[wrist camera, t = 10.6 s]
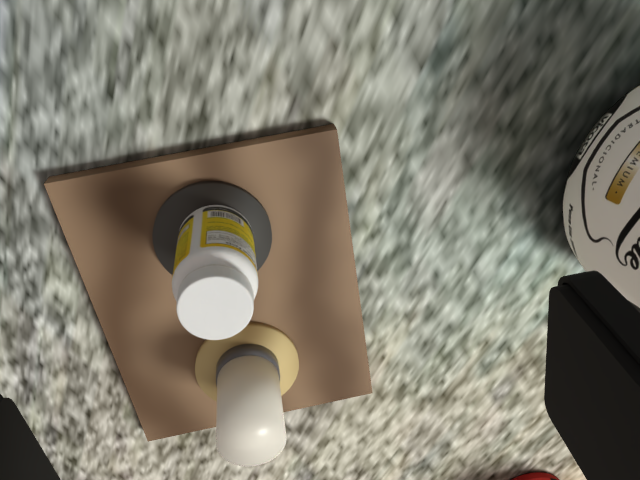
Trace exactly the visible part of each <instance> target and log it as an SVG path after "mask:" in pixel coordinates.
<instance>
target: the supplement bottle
mask: <svg viewBox="0 0 640 480" xmlns="http://www.w3.org/2000/svg"><path fill="white" fill-rule="evenodd" d="M257 290H258V272H257V264H256V254H255V246H254V238H253V232H252V229H251V226H250V224H249V222H248V221H247V220H246V218H245V217H244V216H243V215H242V214H241V213H239V212H238V211H236V210H235V209H232V208H230V207H227V206H223V205H209V206H205V207H202V208H199V209H197V210H196V211H194V212H192V213H191V214H190V215H189V216H188V217H187V218H186V219H185V220H184V221H183V223H182V225H181V227H180V230H179V234H178V240H177V247H176V255H175V262H174V269H173V276H172V291H173V295H174V298H175V300H176V302H177V304H176V311H177V316H178V319H179V321H180V323H181V324H182V326H183V327H184V328H185V329H186V330H187V331H188V332H190V333H191V334H193V335H195V336H197V337H199V338H203V339H208V340H221V339H226V338H229V337H232V336H234V335H236V334H238V333H239V332H241V331H242V330H243V329H244V328H245V327H246V326H247V325H248V323H249V322H250V320H251V317H252V315H253V310H254V299H255V296H256V294H257Z"/></svg>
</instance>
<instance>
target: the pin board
mask: <svg viewBox="0 0 640 480" xmlns="http://www.w3.org/2000/svg"><path fill="white" fill-rule="evenodd" d="M44 186H45V188H46V191H47V193H48V196H49V198H50V200H51V203H52V205H53V208H54V210H55V213H56V215H57V218H58V220H59V223H60V225H61V228H62V230H63V233H64V235H65V237H66V240H67V242H68V245H69V247H70V250H71V252H72V255H73V257H74V260H75V262H76V265H77V267H78V270H79V272H80V275H81V277H82V279H83V282H84V284H85V287H86V289H87V292H88V294H89V297H90V299H91V302H92V304H93V307H94V309H95V312H96V314H97V317H98V319H99V321H100V324H101V326H102V329H103V331H104V334H105V336H106V339H107V341H108V344H109V346H110V349H111V351H112V354H113V356H114V358H115V361H116V363H117V366H118V368H119V371H120V373H121V376H122V378H123V381H124V383H125V386H126V388H127V391H128V393H129V396H130V398H131V400H132V403H133V405H134V408H135V410H136V413H137V415H138V418H139V420H140V423H141V425H142V428H143V430H144V433H145V435H146V438H147V440H148V441H152V440H157V439H161V438H166V437H171V436H175V435H180V434H185V433H189V432H194V431H198V430H203V429H208V428H212V427H216V421H217V386H216V365H217V362H218V360H219V358H220V357H221V356H222V355H223V353H225V352H226V351H227V350H229V349H230V348H232V347H235V346H237V345H241V344H258V345H261V346H264V347H266V348H268V349H269V350H271V351H272V352H273V353H274V354H275V356H276V357H277V359H278V363H279V370H280V390H281V398H282V406H283V412H286V411H291V410H296V409H300V408H305V407H310V406H314V405H319V404H324V403H328V402H333V401H337V400H342V399H347V398H351V397H356V396H361V395H365V394H370V393H372V387H371V380H370V372H369V365H368V357H367V350H366V342H365V335H364V327H363V320H362V313H361V305H360V298H359V290H358V283H357V275H356V268H355V260H354V253H353V246H352V238H351V231H350V223H349V216H348V208H347V201H346V193H345V186H344V179H343V171H342V164H341V156H340V149H339V141H338V134H337V129H336V127H335V125H334V124H330V125H325V126H319V127H314V128H309V129H303V130H298V131H293V132H287V133H282V134H277V135H271V136H266V137H260V138H255V139H250V140H244V141H239V142H234V143H228V144H223V145H217V146H212V147H207V148H201V149H196V150H191V151H185V152H180V153H174V154H169V155H164V156H158V157H153V158H148V159H142V160H137V161H131V162H126V163H121V164H115V165H110V166H105V167H99V168H94V169H88V170H83V171H78V172H72V173H67V174H62V175H56V176H51V177H49V178H48V179H47V180H46V182H45V183H44ZM209 205H223V206H227V207H230V208H232V209H235V210H236V211H238V212H239V213H241V214H242V215H243V216H244V217H245V218H246V220H247V221H248V222H249V224H250V226H251V229H252V232H253V238H254V246H255V254H256V264H257V272H258V290H257V294H256V296H255V299H254V310H253V315H252V317H251V320H250V322H249V323H248V325H247V326H246V327H245V328H244V329H243V330H242V331H241V332H239V333H238V334H236V335H234V336H232V337H229V338H226V339H221V340H208V339H203V338H199V337H197V336H195V335H193V334H191V333H190V332H188V331H187V330H186V329H185V328H184V327H183V326H182V324H181V323H180V321H179V319H178V316H177V311H176V304H177V302H176V300H175V298H174V295H173V291H172V276H173V269H174V262H175V255H176V247H177V240H178V234H179V230H180V227H181V225H182V223H183V221H184V220H185V219H186V218H187V217H188V216H189V215H190V214H191V213H192V212H194V211H196V210H197V209H199V208H202V207H205V206H209Z"/></svg>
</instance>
